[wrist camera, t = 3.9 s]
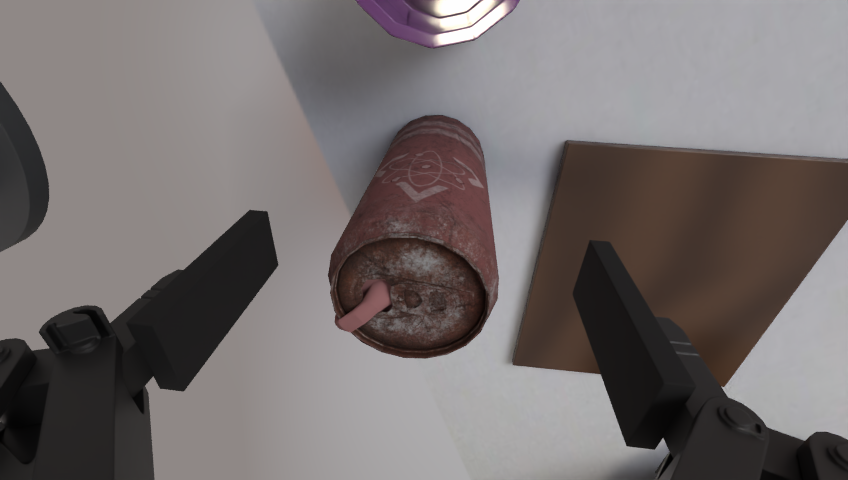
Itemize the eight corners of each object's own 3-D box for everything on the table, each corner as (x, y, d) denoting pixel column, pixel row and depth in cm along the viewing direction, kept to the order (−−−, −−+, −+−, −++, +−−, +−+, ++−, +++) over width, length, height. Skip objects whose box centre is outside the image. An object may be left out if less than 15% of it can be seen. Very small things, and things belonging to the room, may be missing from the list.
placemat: (512, 359, 34) (512, 365, 33) (566, 140, 23) (568, 143, 22) (720, 381, 32) (724, 387, 32) (879, 161, 22) (889, 164, 21)
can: (368, 153, 25) (277, 291, 13) (445, 91, 22) (423, 190, 10) (425, 219, 27) (393, 388, 15) (501, 170, 24) (535, 326, 12)
